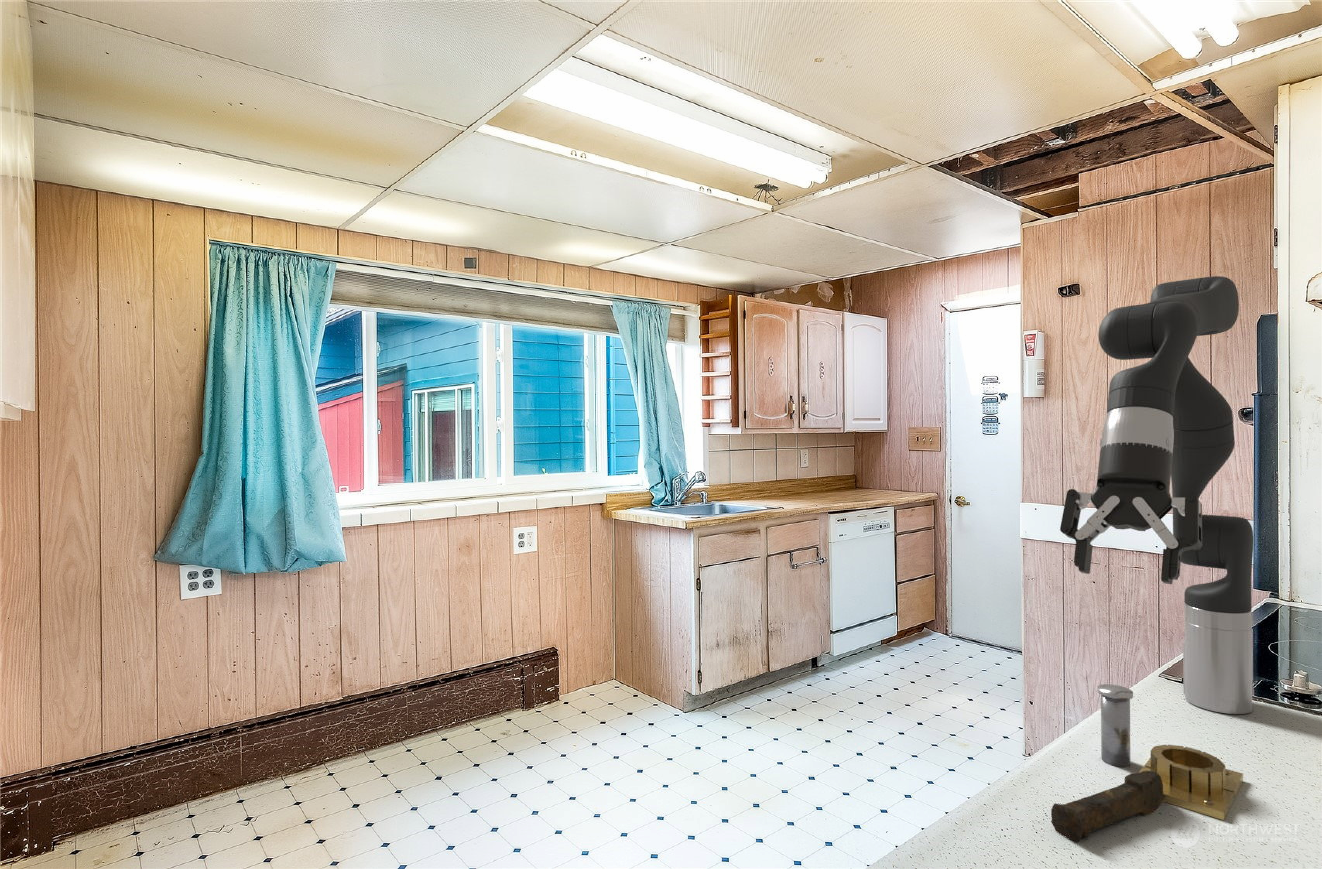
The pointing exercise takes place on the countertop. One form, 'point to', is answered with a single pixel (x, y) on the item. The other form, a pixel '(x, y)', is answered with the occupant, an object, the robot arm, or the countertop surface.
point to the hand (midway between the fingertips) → (1123, 577)
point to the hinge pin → (1115, 724)
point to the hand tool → (1109, 805)
